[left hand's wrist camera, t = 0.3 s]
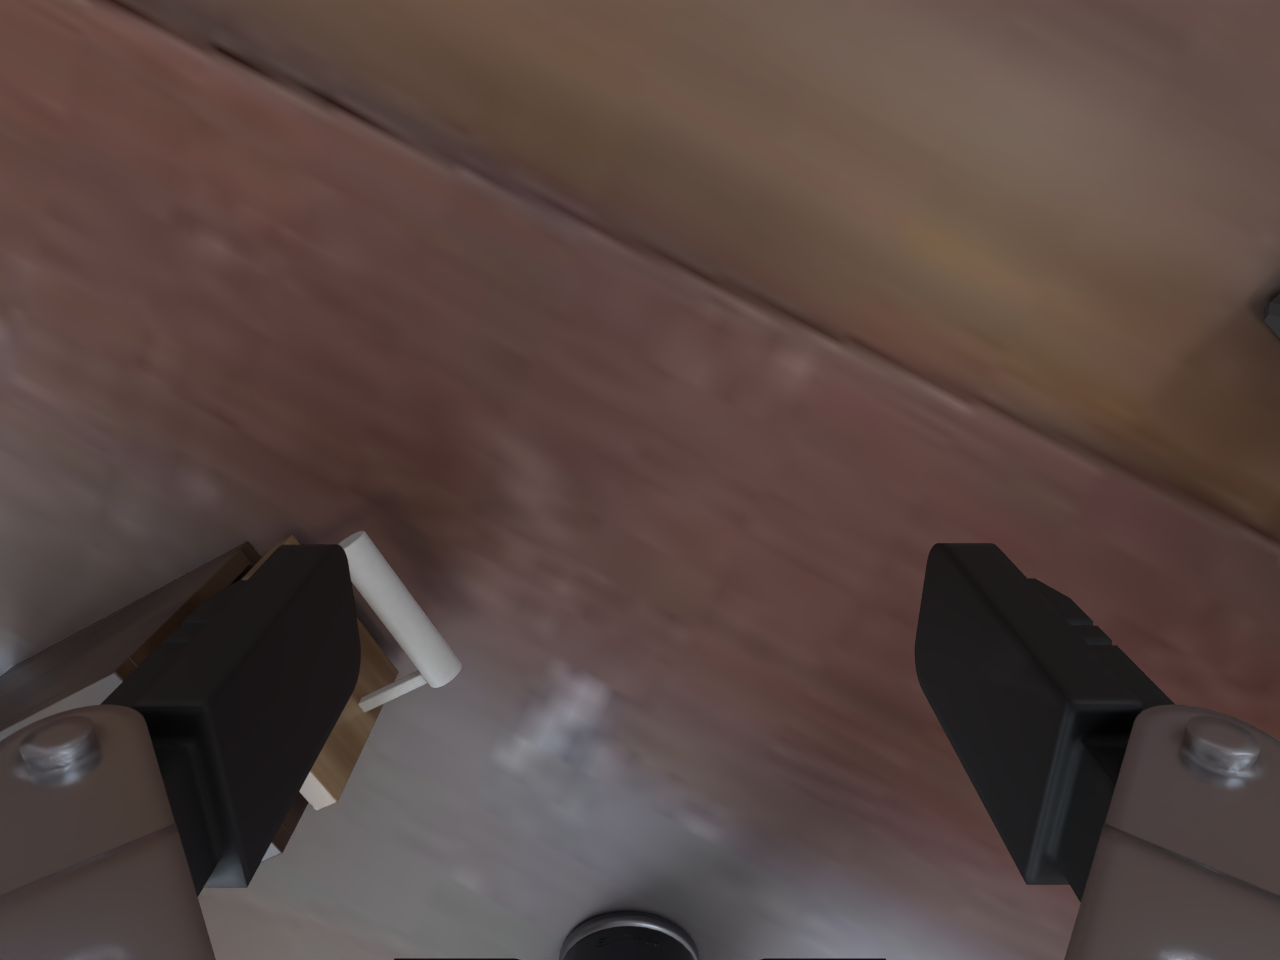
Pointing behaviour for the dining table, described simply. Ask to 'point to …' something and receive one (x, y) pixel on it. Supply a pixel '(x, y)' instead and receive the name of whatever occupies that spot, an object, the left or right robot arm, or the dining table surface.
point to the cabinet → (121, 657)
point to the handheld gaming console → (1273, 315)
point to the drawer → (374, 664)
